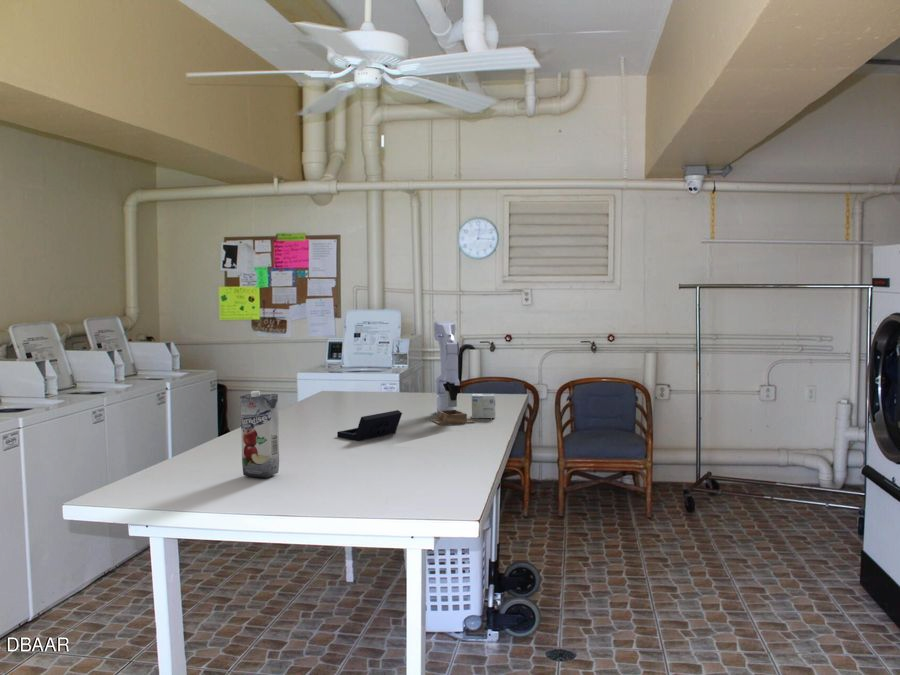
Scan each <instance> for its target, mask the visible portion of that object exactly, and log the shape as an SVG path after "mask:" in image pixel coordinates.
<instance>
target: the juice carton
mask: <svg viewBox="0 0 900 675" xmlns="http://www.w3.org/2000/svg"><path fill="white" fill-rule="evenodd" d="M239 398H240V422H241V424H240V430H241V431H240V432H241V433H240V434H241V464H242V473H243V476H244V477H254V478H255V477H256V478H264V479H265V478H268V477H272V476H273V475H277V474H278V473H279V468H280V438H279V437H280V436H279V435H280V434H279V428H280V427H279V399H278V398H279V394H277V393H269V394H268V393H261V391H260V390H252V391H250V393H247V394H244V395H240V397H239Z"/></svg>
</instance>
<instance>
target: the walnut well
mask: <svg viewBox="0 0 900 675" xmlns="http://www.w3.org/2000/svg"><path fill="white" fill-rule="evenodd" d="M431 420H432V421H431ZM429 421H431V422H433V421H434V422H433V423H435V422H436V423H435V424H436V425H439V426H449V425H448V424H453V425H461V424H460V423H467V424H474V423H473V422H475V421H474V420H473V419H469V418H468V414H467V413H466V412H464V411H460V410H458V409H454V410H441V411H438V414H437V418H430V419H429Z"/></svg>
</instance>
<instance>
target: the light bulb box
mask: <svg viewBox="0 0 900 675" xmlns="http://www.w3.org/2000/svg"><path fill="white" fill-rule="evenodd" d="M472 418H491V419H490V420H493V419H492V418H496V393H472V395H471V419H472Z"/></svg>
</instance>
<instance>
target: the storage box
mask: <svg viewBox="0 0 900 675" xmlns="http://www.w3.org/2000/svg"><path fill="white" fill-rule="evenodd" d="M402 415H403V412H401V411H400V410H399V409H397V410H391V411H386V412H380V413H376V414H375V413H374V414H370V415H369V414H368V415H363V416H360V420H359V422H358V426H357V427H356V428H355V427H354V428H350V429H345V430H339V431H337V435H336V436H337V438H341V439H346V440H348V441H349V440H350V441H357V442H361V441H366V440H370V439H375V438H379V437H384V436H387V435H392V434H396V432H397V430H398V426H399V423H400V421H401V417H402Z"/></svg>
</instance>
